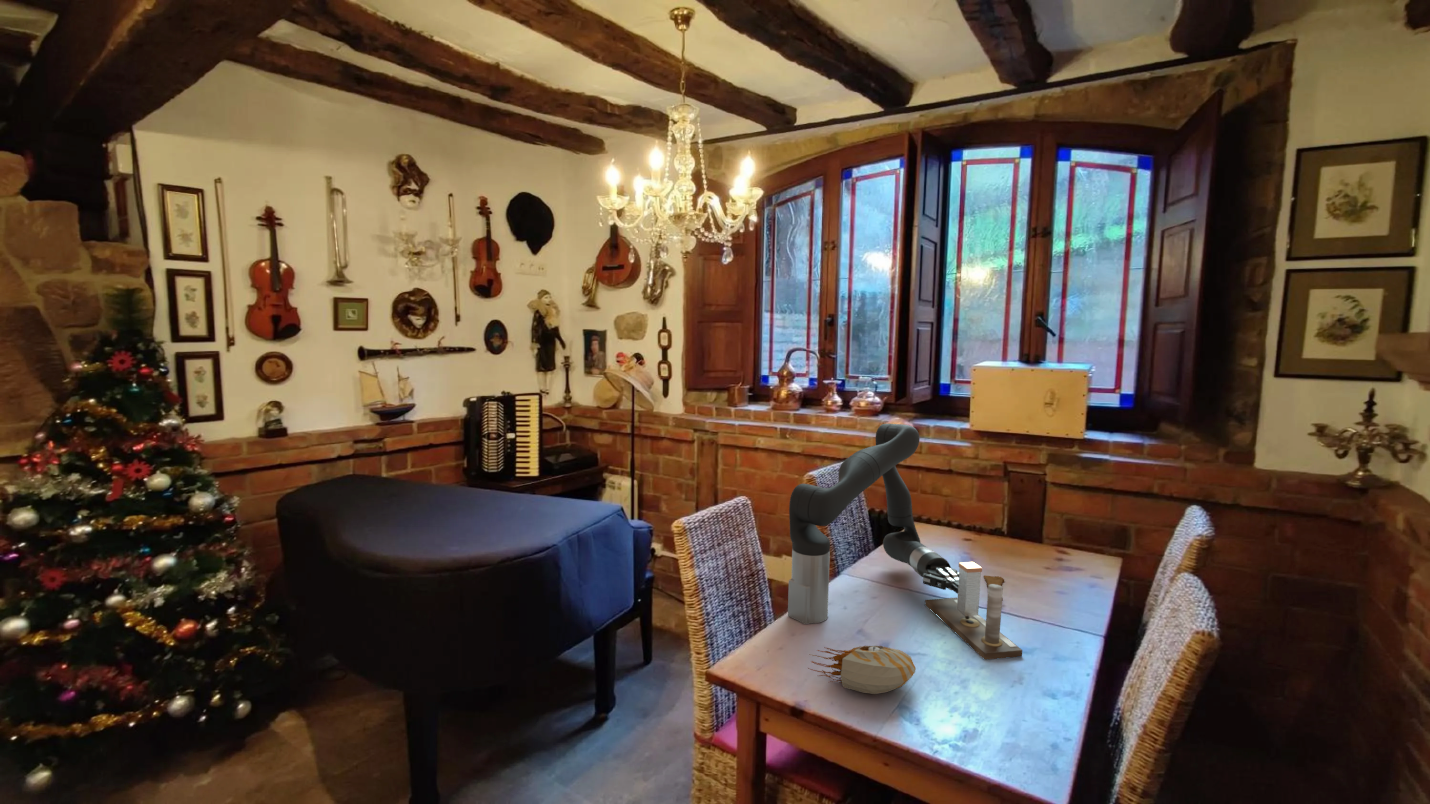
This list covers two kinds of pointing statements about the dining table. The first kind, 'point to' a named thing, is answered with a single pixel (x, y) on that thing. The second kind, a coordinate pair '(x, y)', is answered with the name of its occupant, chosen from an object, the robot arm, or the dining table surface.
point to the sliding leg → (969, 589)
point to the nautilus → (870, 668)
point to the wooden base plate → (978, 625)
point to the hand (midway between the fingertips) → (964, 591)
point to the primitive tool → (994, 580)
